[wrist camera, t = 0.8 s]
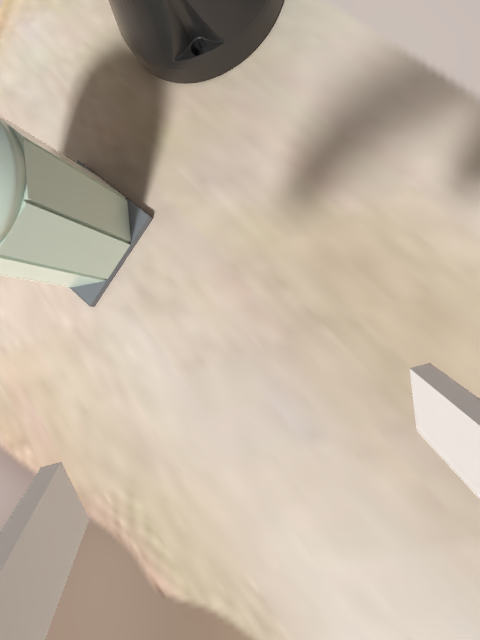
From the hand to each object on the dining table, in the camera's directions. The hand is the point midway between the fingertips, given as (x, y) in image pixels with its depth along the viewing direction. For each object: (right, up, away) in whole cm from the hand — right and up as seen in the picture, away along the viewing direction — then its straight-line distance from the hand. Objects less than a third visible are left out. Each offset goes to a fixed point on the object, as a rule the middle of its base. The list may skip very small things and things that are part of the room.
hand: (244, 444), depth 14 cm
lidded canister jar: (-15, +13, +21) cm, 29 cm away
